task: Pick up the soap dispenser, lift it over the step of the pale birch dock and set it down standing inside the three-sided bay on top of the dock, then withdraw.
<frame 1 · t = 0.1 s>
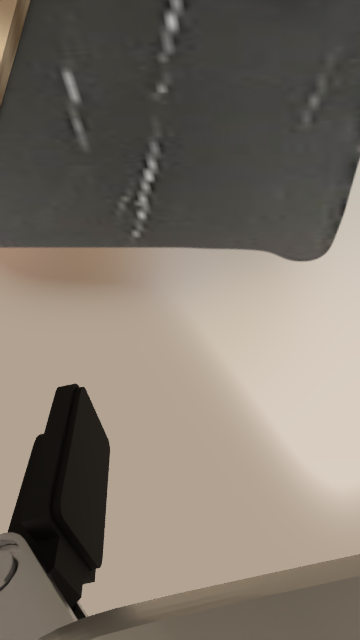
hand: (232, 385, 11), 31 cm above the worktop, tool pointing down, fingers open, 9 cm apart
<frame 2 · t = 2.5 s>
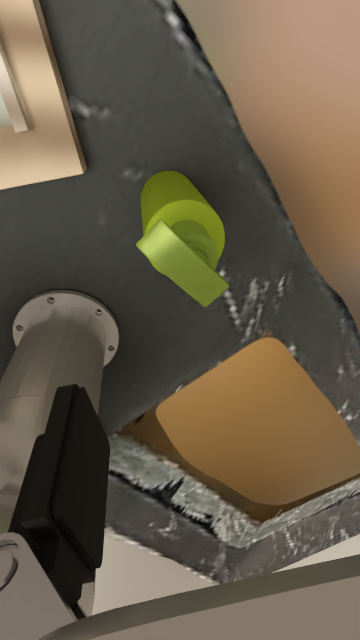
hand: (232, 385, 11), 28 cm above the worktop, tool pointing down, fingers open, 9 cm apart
soap dispenser: (164, 196, 35), on the worktop
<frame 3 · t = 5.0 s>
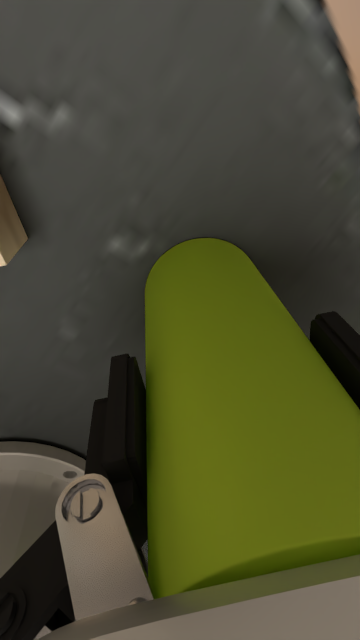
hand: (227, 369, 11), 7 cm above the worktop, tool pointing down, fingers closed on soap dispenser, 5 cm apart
soap dispenser: (194, 285, 17), on the worktop, touching gripper
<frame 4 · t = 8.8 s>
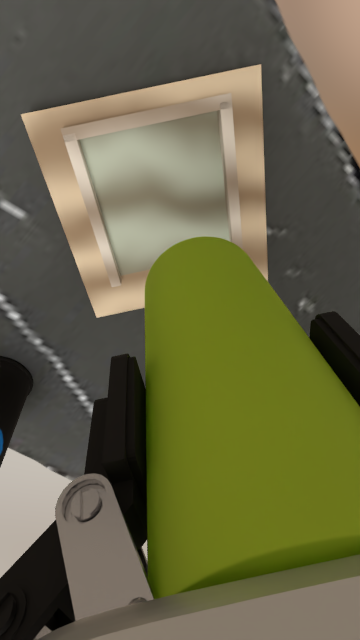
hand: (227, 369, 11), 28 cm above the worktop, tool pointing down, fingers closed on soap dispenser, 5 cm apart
dock: (163, 204, 35), on the worktop
soap dispenser: (194, 283, 17), point 21 cm above the worktop, touching gripper
aerosol can: (1, 378, 45), on the worktop
when the fingers open (11 cm above the worktop, at t = 12.5 s): soap dispenser stays where it is, resting on dock.
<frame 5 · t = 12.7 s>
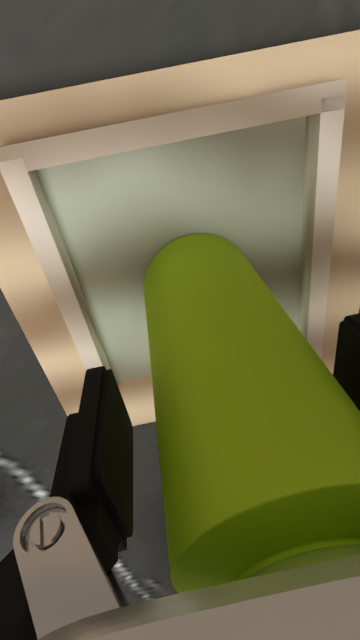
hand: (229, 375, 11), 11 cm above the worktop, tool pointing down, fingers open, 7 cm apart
dock: (187, 267, 21), on the worktop
soap dispenser: (190, 278, 18), point 3 cm above the worktop, touching dock
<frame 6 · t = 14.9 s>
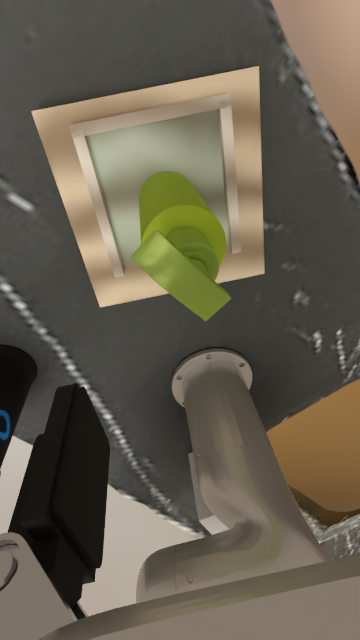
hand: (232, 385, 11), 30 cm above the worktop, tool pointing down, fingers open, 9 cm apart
dock: (164, 199, 36), on the worktop
soap dispenser: (164, 198, 34), point 3 cm above the worktop, touching dock
aerosol can: (6, 367, 46), on the worktop
skincare box: (203, 456, 63), on the worktop
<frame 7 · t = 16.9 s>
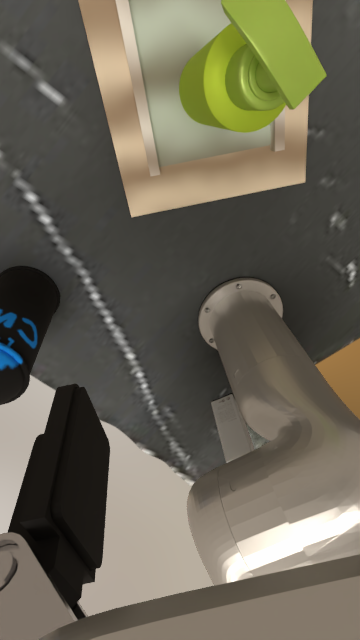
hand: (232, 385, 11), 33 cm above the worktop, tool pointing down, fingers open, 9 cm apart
dock: (202, 94, 34), on the worktop
soap dispenser: (205, 84, 31), point 3 cm above the worktop, touching dock
aerosol can: (28, 294, 44), on the worktop
skincare box: (226, 406, 60), on the worktop
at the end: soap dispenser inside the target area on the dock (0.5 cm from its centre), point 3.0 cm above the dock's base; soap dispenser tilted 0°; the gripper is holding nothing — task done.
